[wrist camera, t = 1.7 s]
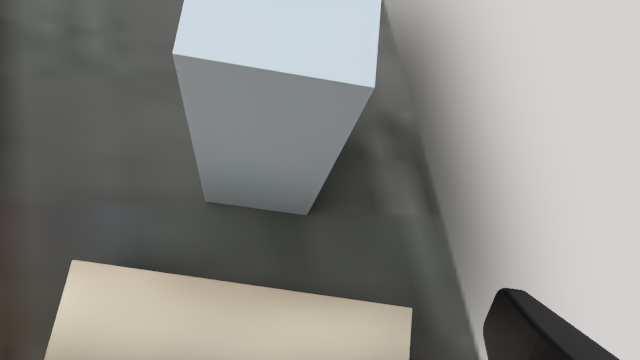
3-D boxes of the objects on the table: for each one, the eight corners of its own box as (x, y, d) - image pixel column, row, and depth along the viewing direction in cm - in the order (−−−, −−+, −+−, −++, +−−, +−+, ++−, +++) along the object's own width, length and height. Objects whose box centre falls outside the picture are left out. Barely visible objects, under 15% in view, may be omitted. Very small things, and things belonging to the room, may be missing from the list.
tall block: (306, 215, 23) (374, 87, 12) (205, 201, 22) (172, 53, 11) (317, 124, 24) (386, -69, 13) (221, 109, 24) (207, -105, 12)
